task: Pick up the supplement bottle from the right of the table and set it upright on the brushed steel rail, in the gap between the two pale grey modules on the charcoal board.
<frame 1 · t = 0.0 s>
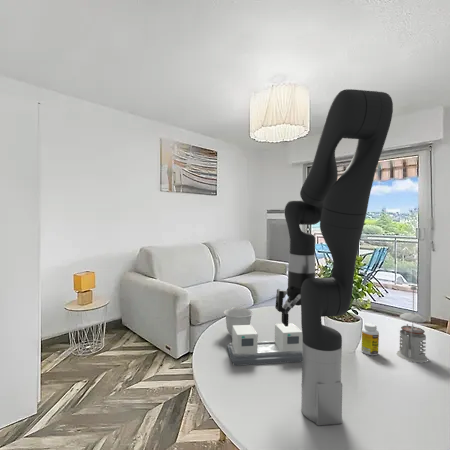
hand: (299, 325, 87), 17 cm above the table, tool pointing down, fingers open, 8 cm apart
rail board: (266, 354, 106), on the table
teacup: (236, 335, 124), on the table
supplement bottle: (369, 353, 109), on the table
mounted modules: (266, 338, 106), on the rail board, point 6 cm above the table
steel rail: (266, 348, 106), on the rail board, point 2 cm above the table
french press: (411, 357, 106), on the table
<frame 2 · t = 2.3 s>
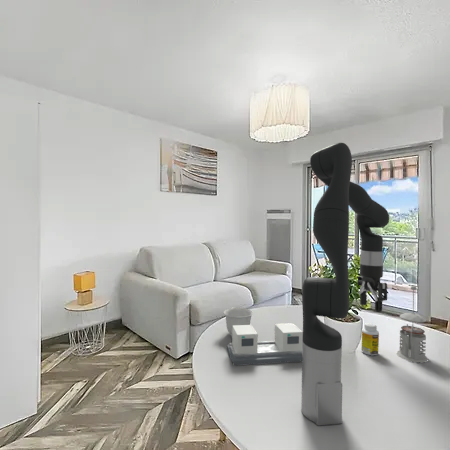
hand: (370, 307, 109), 16 cm above the table, tool pointing down, fingers open, 8 cm apart
nothing on the table moved.
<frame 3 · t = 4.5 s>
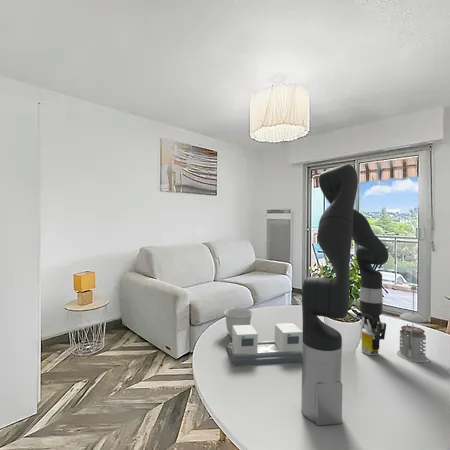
hand: (369, 345, 109), 3 cm above the table, tool pointing down, fingers closed on supplement bottle, 5 cm apart
supplement bottle: (369, 353, 109), on the table, touching gripper
everything else where it was.
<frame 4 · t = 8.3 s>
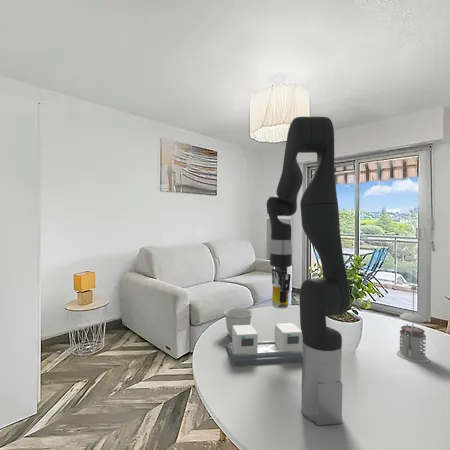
hand: (280, 299, 106), 19 cm above the table, tool pointing down, fingers closed on supplement bottle, 5 cm apart
supplement bottle: (280, 307, 106), point 17 cm above the table, touching gripper
everything else where it was.
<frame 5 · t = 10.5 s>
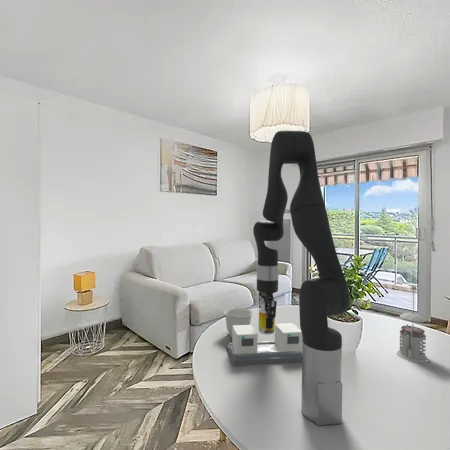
hand: (266, 325, 106), 10 cm above the table, tool pointing down, fingers closed on supplement bottle, 5 cm apart
supplement bottle: (266, 332, 106), point 8 cm above the table, touching gripper
everything else where it was.
when the fingers open (6 cm above the table, at t = 12.3 s): supplement bottle drops 1 cm, resting on steel rail.
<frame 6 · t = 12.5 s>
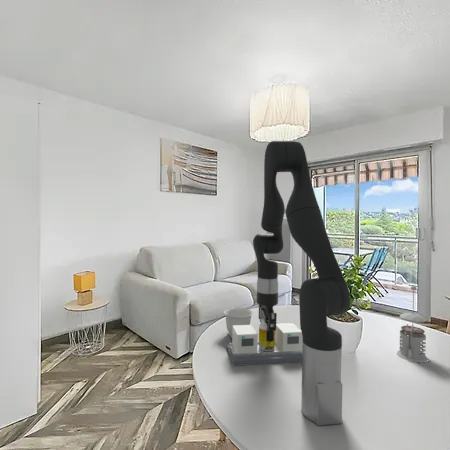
hand: (266, 336, 106), 6 cm above the table, tool pointing down, fingers open, 7 cm apart
supplement bottle: (266, 349, 106), point 2 cm above the table, touching steel rail
everything else where it was.
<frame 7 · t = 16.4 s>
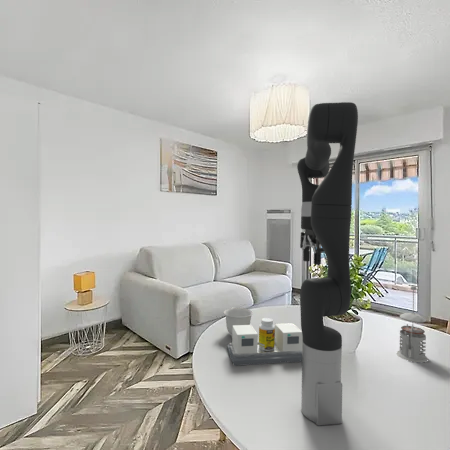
hand: (311, 262, 103), 33 cm above the table, tool pointing down, fingers open, 8 cm apart
nothing on the table moved.
at the end: supplement bottle 0.2 cm off-centre on the rail board, point 2.0 cm above the rail board's base; supplement bottle tilted 0°; the gripper is holding nothing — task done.
